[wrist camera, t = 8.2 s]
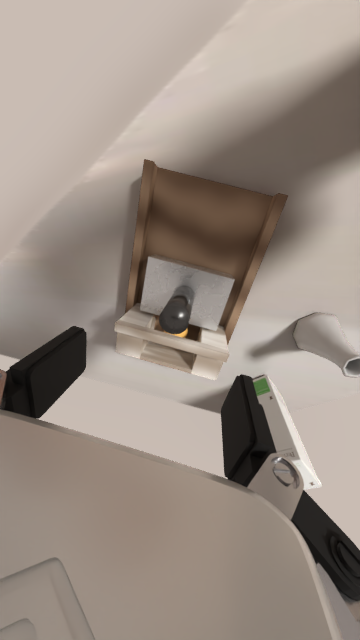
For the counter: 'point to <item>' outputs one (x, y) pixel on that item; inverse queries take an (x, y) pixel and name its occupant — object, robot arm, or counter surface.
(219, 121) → the counter surface
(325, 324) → the flask
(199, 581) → the robot arm
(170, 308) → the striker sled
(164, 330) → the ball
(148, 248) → the wooden tray
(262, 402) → the skincare box
